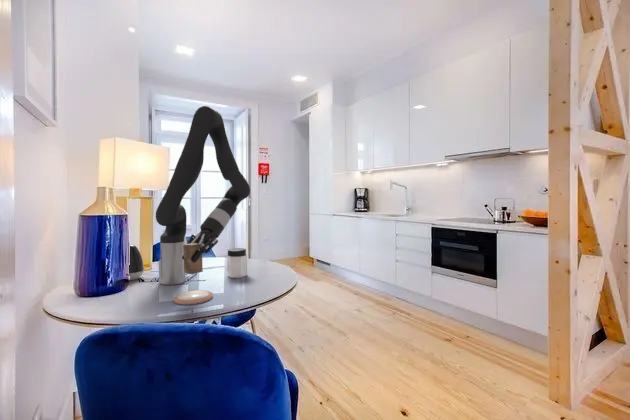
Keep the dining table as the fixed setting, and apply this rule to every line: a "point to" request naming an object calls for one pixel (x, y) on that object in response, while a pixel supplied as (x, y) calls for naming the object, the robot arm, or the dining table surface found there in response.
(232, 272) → the jar
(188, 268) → the walnut block
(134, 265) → the dark grey tapered dome
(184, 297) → the terracotta dish
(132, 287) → the dining table surface
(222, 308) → the dining table surface
